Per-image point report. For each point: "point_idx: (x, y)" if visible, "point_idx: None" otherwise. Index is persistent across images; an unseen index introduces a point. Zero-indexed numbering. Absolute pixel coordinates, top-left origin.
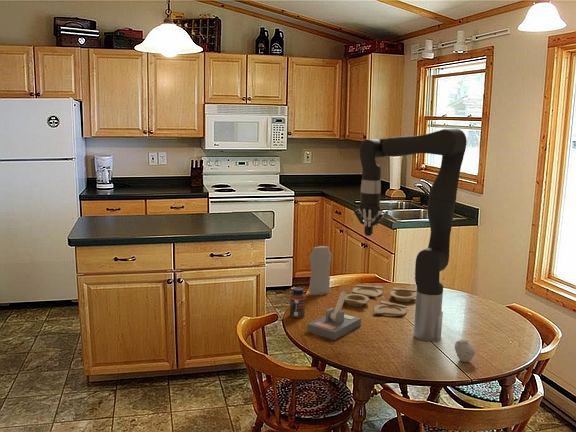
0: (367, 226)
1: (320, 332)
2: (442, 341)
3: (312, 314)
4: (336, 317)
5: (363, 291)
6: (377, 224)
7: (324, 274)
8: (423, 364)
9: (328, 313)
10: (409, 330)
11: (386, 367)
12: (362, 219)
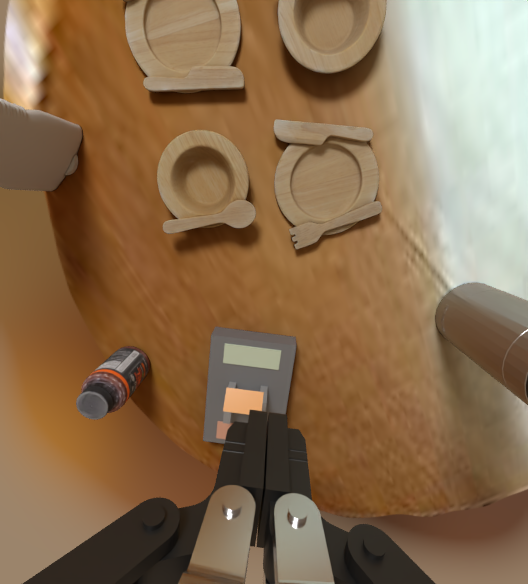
0: (251, 536)
1: None
2: None
3: (155, 332)
4: None
5: (166, 28)
6: (388, 537)
7: (22, 143)
8: (483, 449)
9: (231, 416)
10: (418, 297)
11: (418, 490)
12: (104, 565)
